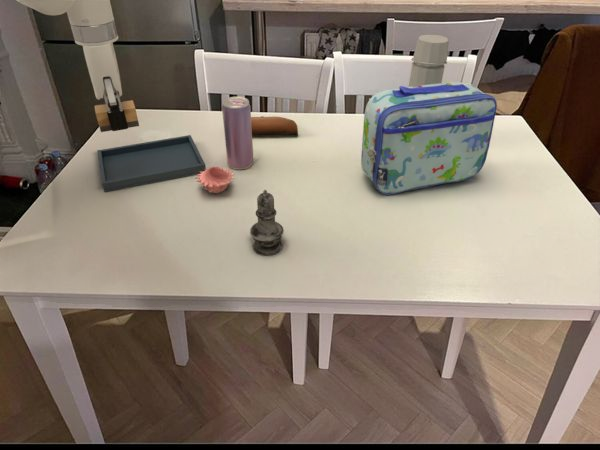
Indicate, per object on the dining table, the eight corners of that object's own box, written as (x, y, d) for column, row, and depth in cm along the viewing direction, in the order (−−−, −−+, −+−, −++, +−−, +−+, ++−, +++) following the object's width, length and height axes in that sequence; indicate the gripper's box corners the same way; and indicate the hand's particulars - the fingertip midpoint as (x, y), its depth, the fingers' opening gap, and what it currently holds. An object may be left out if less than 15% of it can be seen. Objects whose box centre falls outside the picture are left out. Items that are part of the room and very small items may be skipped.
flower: (243, 189, 98) (241, 166, 94) (215, 206, 93) (212, 182, 90) (217, 177, 102) (215, 154, 98) (189, 192, 97) (185, 169, 94)
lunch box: (370, 201, 95) (382, 103, 82) (353, 174, 103) (361, 82, 90) (484, 185, 100) (511, 91, 87) (458, 161, 108) (481, 72, 96)
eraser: (100, 132, 93) (95, 113, 90) (99, 123, 96) (94, 105, 94) (139, 126, 95) (135, 107, 93) (136, 118, 98) (132, 100, 96)
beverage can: (250, 171, 104) (246, 108, 95) (224, 169, 104) (217, 106, 95) (256, 158, 108) (252, 97, 99) (231, 156, 109) (226, 95, 100)
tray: (104, 192, 97) (101, 183, 95) (99, 158, 108) (97, 150, 107) (206, 172, 103) (205, 164, 102) (191, 142, 115) (190, 134, 113)
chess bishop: (290, 242, 84) (289, 186, 77) (272, 260, 80) (270, 203, 73) (263, 232, 86) (260, 176, 79) (244, 249, 82) (239, 193, 75)
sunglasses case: (296, 121, 124) (296, 106, 118) (297, 144, 121) (298, 129, 115) (228, 122, 123) (225, 107, 116) (228, 145, 120) (225, 131, 114)
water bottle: (429, 151, 112) (450, 45, 97) (396, 146, 114) (412, 41, 99) (432, 135, 119) (453, 33, 104) (401, 131, 121) (417, 30, 106)
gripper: (72, 22, 89) (97, 111, 101) (74, 47, 77) (102, 145, 88) (112, 18, 92) (133, 106, 103) (121, 42, 79) (143, 138, 90)
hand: (118, 123), depth 95 cm, fingers closed on eraser, 4 cm apart
